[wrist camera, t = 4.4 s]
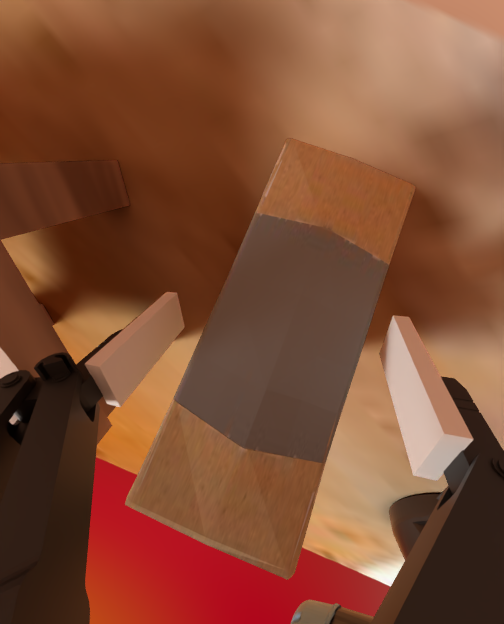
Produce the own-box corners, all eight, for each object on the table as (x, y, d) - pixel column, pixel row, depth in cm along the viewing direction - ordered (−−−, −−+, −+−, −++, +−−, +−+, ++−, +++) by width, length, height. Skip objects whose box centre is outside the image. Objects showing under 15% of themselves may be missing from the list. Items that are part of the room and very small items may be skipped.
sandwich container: (423, 184, 14) (1158, 402, 2) (309, 355, 23) (294, 585, 11) (285, 131, 14) (44, -11, 2) (226, 321, 23) (119, 508, 11)
